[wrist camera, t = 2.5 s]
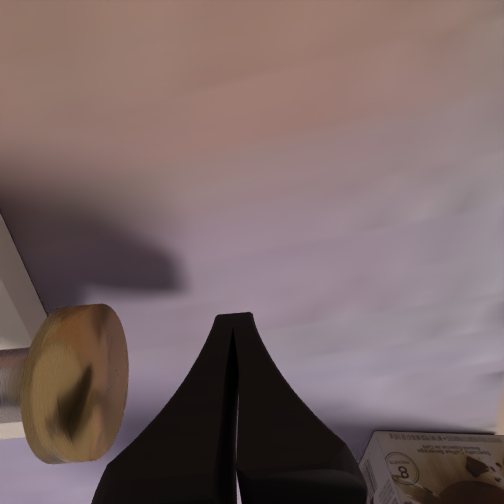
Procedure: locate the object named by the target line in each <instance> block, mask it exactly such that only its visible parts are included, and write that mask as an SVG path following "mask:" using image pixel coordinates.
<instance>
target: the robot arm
mask: <svg viewBox="0 0 504 504" xmlns="http://www.w3.org/2000/svg"><path fill="white" fill-rule="evenodd" d="M238 395H239V406H238ZM237 410H238V437H237V458H236V425H237ZM236 471H237V477H238V483H239V489H240V495H241V502H242V504H366V503H367V497H368V491H367V485H366V482H365V479H364V477H363V475H362V472H361V470H360V468H359V466H358V464H357V462H356V460H355V458H354V456H353V455H352V453H351V451H350V450H349V448H348V446H347V444H346V443H345V442H343V441H342V440H341V439H340V438H339V437H338V436H337V435H335V434H334V433H333V432H332V431H331V430H330V429H329V428H328V427H327V426H326V425H325V424H324V423H323V422H322V421H321V420H320V419H319V418H318V417H317V416H315V415H314V413H313V412H312V411H311V410H310V409H309V408H308V407H307V406H306V405H305V403H304V402H303V401H302V400H301V399H300V398H299V397H298V395H297V394H296V393H295V392H294V390H293V389H292V388H291V387H290V385H289V384H288V383H287V381H286V380H285V379H284V377H283V376H282V374H281V373H280V371H279V370H278V368H277V367H276V365H275V363H274V362H273V360H272V359H271V357H270V355H269V353H268V351H267V350H266V348H265V346H264V344H263V342H262V340H261V338H260V335H259V333H258V331H257V328H256V325H255V322H254V318H253V314H252V313H251V312H244V313H232V314H220V315H217V316H216V317H215V320H214V323H213V326H212V329H211V331H210V333H209V336H208V338H207V340H206V342H205V344H204V346H203V348H202V350H201V352H200V354H199V356H198V358H197V360H196V361H195V363H194V365H193V366H192V368H191V370H190V372H189V373H188V375H187V376H186V378H185V380H184V381H183V383H182V384H181V385H180V387H179V388H178V390H177V391H176V393H175V394H174V395H173V397H172V398H171V399H170V400H169V402H168V403H167V404H166V405H165V407H164V408H163V409H162V410H161V412H160V413H159V414H158V415H157V416H156V418H155V419H154V420H153V421H152V422H151V423H150V424H149V425H148V426H147V427H146V428H145V429H144V430H143V432H142V433H141V434H140V435H139V436H138V437H137V438H136V439H135V440H134V441H133V442H132V443H131V444H130V445H129V446H128V447H126V448H125V449H124V450H123V451H122V452H121V453H120V454H119V455H118V456H117V457H116V458H115V459H113V460H112V461H111V462H110V463H109V464H108V465H107V467H106V469H105V471H104V473H103V475H102V477H101V480H100V482H99V484H98V487H97V489H96V491H95V494H94V497H93V500H92V503H91V504H237V485H236Z"/></svg>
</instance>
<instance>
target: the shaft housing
mask: <svg viewBox="0 0 504 504" xmlns="http://www.w3.org/2000/svg"><path fill="white" fill-rule="evenodd" d="M46 318H47V315H46V313H45V311H44V308H43V306H42V304H41V302H40V299H39V297H38V295H37V293H36V291H35V288H34V286H33V284H32V282H31V280H30V277H29V275H28V273H27V271H26V269H25V266H24V264H23V262H22V260H21V257H20V255H19V253H18V251H17V249H16V246H15V244H14V242H13V240H12V238H11V235H10V233H9V231H8V229H7V227H6V224H5V222H4V220H3V218H2V215H1V213H0V350H4V349H16V348H27V347H30V346H31V343H32V341H33V339H34V337H35V335H36V333H37V331H38V329H39V328H40V326H41V324H42V323H43V322H44V320H45V319H46ZM20 437H26V436H25V433H24V428H23V424H22V422H14V423H2V424H0V439H9V438H20Z"/></svg>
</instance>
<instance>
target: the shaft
mask: <svg viewBox="0 0 504 504" xmlns="http://www.w3.org/2000/svg"><path fill="white" fill-rule="evenodd" d="M128 377H129V363H128V351H127V344H126V338H125V334H124V330H123V327H122V324H121V322H120V320H119V318H118V316H117V314H116V313H115V311H114V310H113V309H112V308H111V307H110V306H108V305H106V304H90V305H79V306H67V307H62V308H59V309H57V310H55V311H54V312H52V313H51V314H50V315H49V316H48V317H47V318H46V319H45V320H44V322H43V323H42V324H41V326H40V328H39V329H38V331H37V333H36V335H35V337H34V339H33V341H32V343H31V346H30V347H27V348H16V349H4V350H0V424H2V423H14V422H22V424H23V428H24V433H25V436H26V439H27V442H28V444H29V446H30V448H31V450H32V451H33V453H34V454H35V455H36V457H37V458H39V459H40V460H41V461H43V462H45V463H47V464H62V463H74V462H85V461H94V460H97V459H99V458H101V457H102V456H103V455H105V454H106V452H107V451H108V450H109V449H110V447H111V445H112V444H113V442H114V440H115V438H116V436H117V433H118V431H119V428H120V425H121V422H122V418H123V415H124V410H125V405H126V399H127V391H128Z"/></svg>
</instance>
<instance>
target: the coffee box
mask: <svg viewBox="0 0 504 504" xmlns="http://www.w3.org/2000/svg"><path fill="white" fill-rule="evenodd" d="M359 468H360V470H361V472H362V475H363V477H364V479H365V482H366V485H367V491H368V497H367V503H366V504H504V435H477V434H449V433H420V432H393V431H375V432H374V433H373V435H372V438H371V440H370V442H369V444H368V447H367V449H366V451H365V453H364V455H363V458H362V460H361V462H360V464H359Z"/></svg>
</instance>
